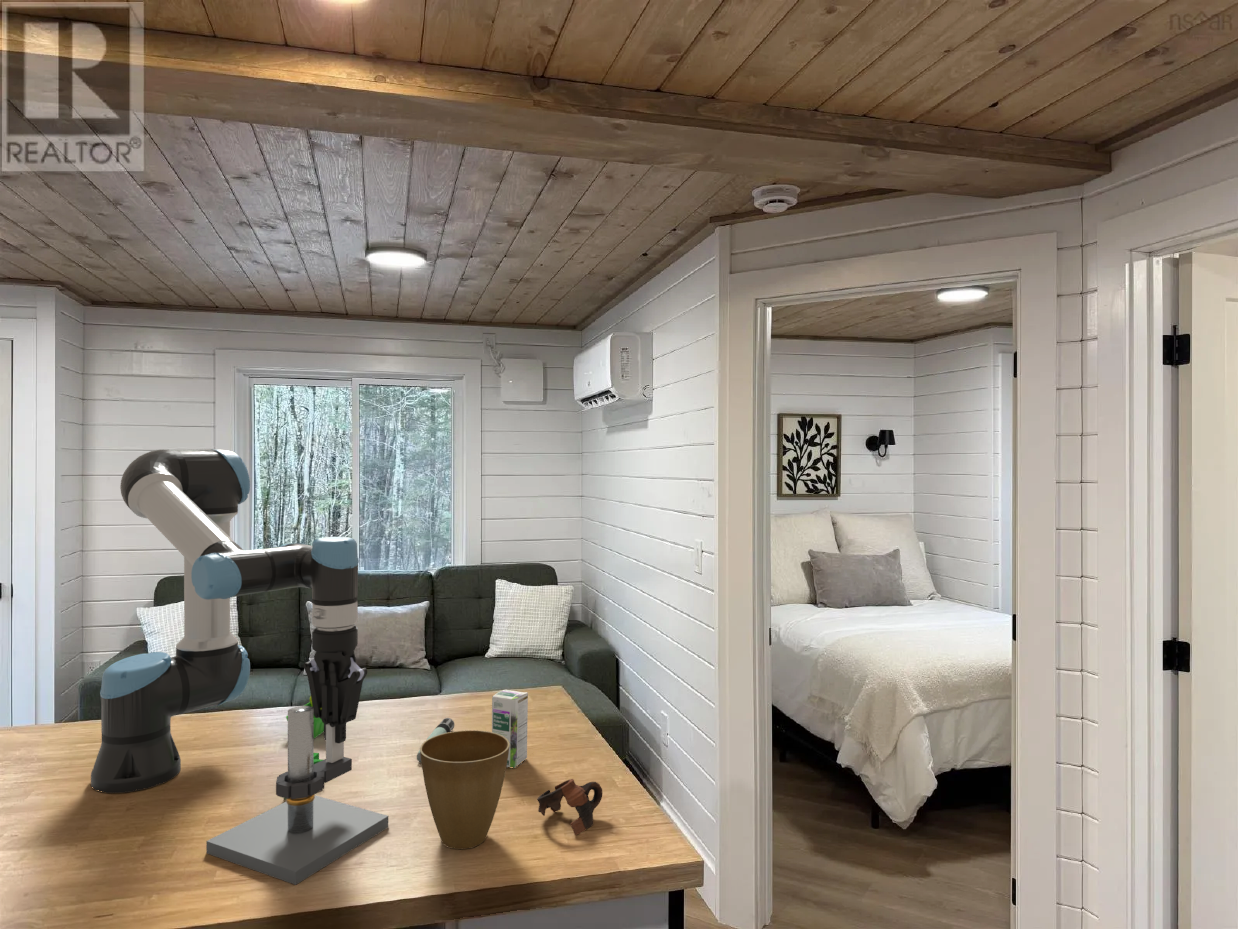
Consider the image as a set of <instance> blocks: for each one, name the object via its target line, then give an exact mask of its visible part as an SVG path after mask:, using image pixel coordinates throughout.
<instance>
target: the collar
mask: <svg viewBox="0 0 1238 929" xmlns="http://www.w3.org/2000/svg"><path fill="white" fill-rule="evenodd" d="M352 760H353V758H350V757H345V756H344V758H342V759H340V760H338V761H335V762H333V763H330V762H326V758H325V759H322V761H320V762H318V763H316V764H314V779H312V780H310V781H308V782H304V783H295V784H292V783H288V770H286V771H285V772H283V773H280V774H278V776H277V777H276V780H275V795H276V796H277V797H280V798H283V799H284V798H286V799H289V798H291V799H296V798H304V797H308V795H309V796H312V795H314V794H315V795H317V794H318V793H319V792H322V791H323V790H324V789H325V784H327V783H328V782H331V781H333V780H334V779H337V778H339V777H341V776H342V775H344V774H347V773H348V772H351V771H353V770H352V768H353V766H352V765H353V764H352V762H353V761H352ZM286 799H285V800H286Z"/></svg>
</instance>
